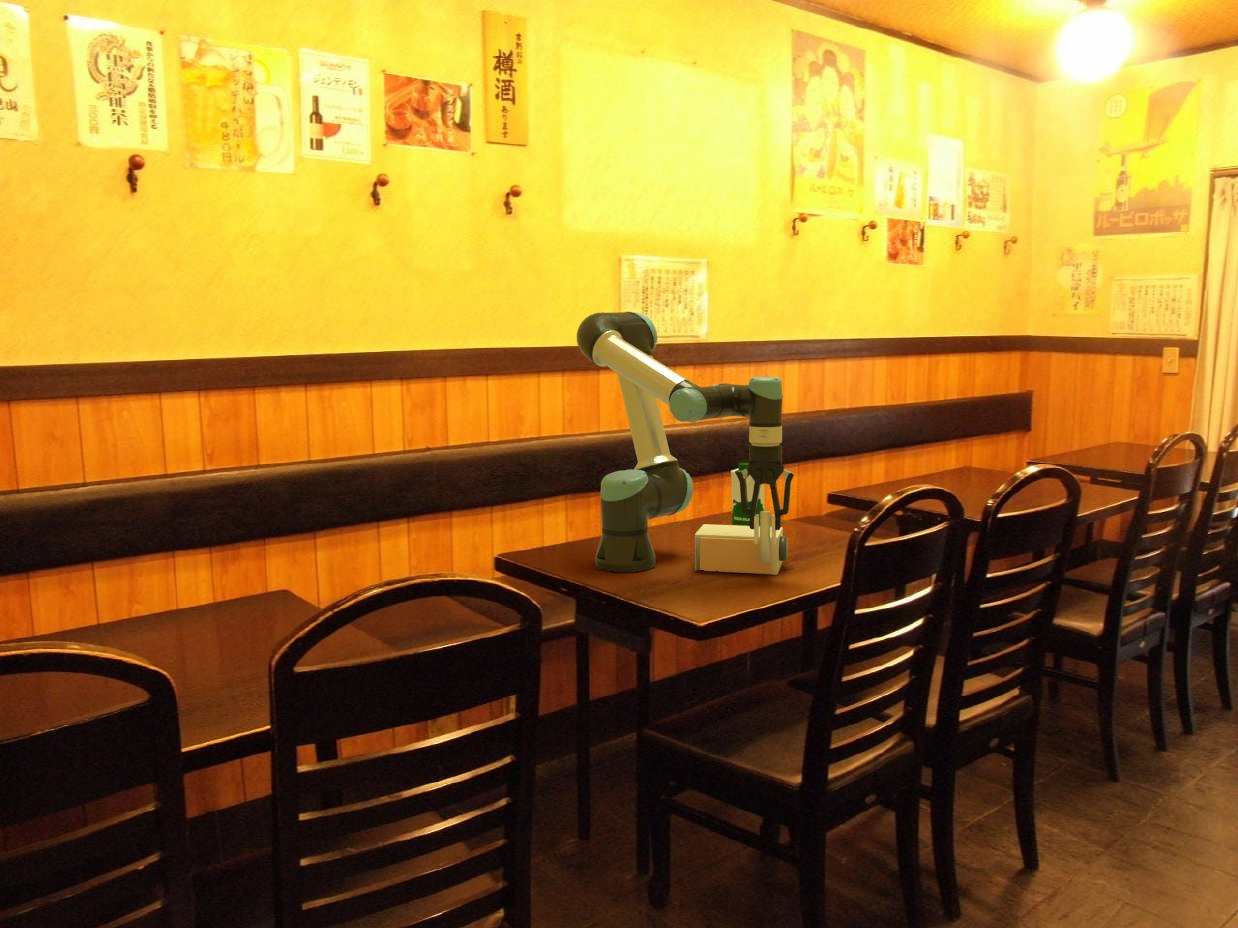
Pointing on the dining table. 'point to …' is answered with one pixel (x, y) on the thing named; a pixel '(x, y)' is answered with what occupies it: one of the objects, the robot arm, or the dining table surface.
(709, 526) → the camera body
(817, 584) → the dining table surface
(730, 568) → the side door
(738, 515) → the milk carton
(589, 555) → the dining table surface
